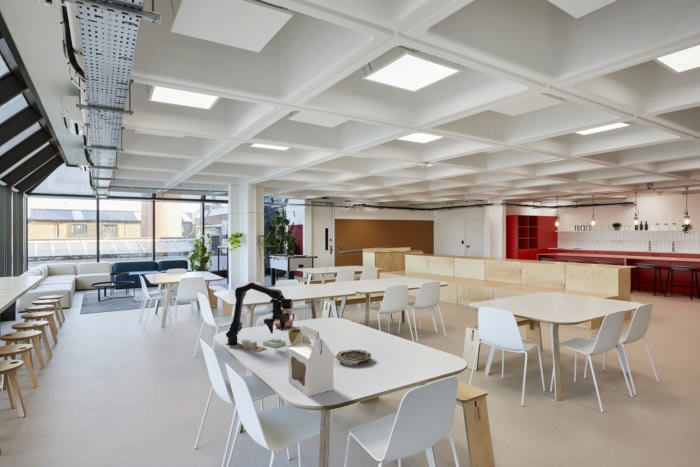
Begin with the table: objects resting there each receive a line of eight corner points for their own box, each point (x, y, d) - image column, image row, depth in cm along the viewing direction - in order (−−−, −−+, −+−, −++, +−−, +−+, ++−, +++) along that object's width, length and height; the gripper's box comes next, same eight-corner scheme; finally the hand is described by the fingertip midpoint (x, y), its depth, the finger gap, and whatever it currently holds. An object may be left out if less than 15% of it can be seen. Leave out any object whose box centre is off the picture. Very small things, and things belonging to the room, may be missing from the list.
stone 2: (272, 345, 262) (272, 339, 262) (277, 344, 265) (277, 338, 265) (276, 346, 260) (276, 340, 260) (281, 345, 263) (281, 339, 263)
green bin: (263, 345, 264) (263, 341, 264) (273, 342, 271) (273, 338, 271) (274, 348, 257) (274, 343, 257) (285, 345, 264) (285, 340, 264)
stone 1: (241, 346, 260) (241, 340, 260) (246, 345, 263) (246, 339, 263) (245, 347, 257) (245, 341, 257) (250, 346, 260) (250, 340, 260)
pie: (386, 362, 230) (386, 353, 230) (353, 374, 210) (353, 364, 210) (353, 352, 250) (352, 344, 250) (320, 362, 231) (320, 353, 231)
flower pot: (300, 346, 262) (300, 332, 262) (288, 345, 264) (288, 332, 264) (304, 342, 271) (304, 329, 271) (292, 342, 273) (292, 329, 273)
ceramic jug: (276, 330, 306) (277, 312, 307) (270, 326, 319) (271, 309, 319) (298, 328, 316) (298, 310, 316) (291, 324, 328) (291, 307, 328)
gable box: (288, 382, 197) (288, 326, 197) (311, 377, 204) (311, 323, 205) (309, 397, 178) (308, 335, 179) (333, 390, 186) (333, 331, 186)
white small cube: (247, 348, 255) (247, 342, 255) (252, 346, 259) (252, 340, 259) (252, 349, 253) (252, 343, 253) (256, 347, 257) (256, 341, 257)
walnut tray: (238, 347, 259) (238, 346, 259) (247, 345, 265) (247, 343, 265) (257, 352, 247) (257, 351, 247) (266, 350, 253) (266, 348, 253)
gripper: (274, 312, 250) (274, 336, 250) (295, 308, 265) (295, 331, 265) (263, 310, 257) (263, 334, 257) (283, 306, 272) (284, 328, 272)
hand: (277, 332), depth 263 cm, fingers open, 9 cm apart
